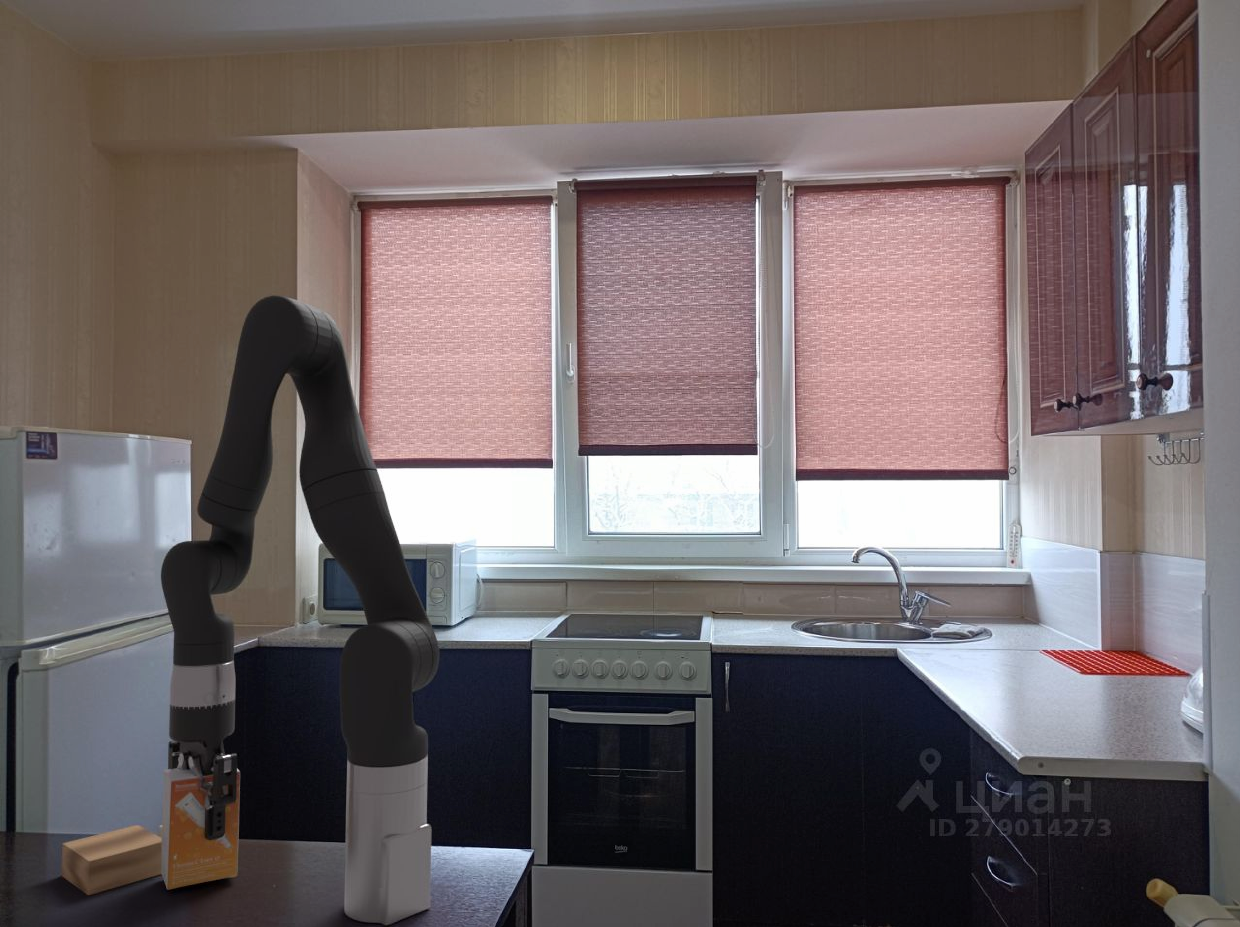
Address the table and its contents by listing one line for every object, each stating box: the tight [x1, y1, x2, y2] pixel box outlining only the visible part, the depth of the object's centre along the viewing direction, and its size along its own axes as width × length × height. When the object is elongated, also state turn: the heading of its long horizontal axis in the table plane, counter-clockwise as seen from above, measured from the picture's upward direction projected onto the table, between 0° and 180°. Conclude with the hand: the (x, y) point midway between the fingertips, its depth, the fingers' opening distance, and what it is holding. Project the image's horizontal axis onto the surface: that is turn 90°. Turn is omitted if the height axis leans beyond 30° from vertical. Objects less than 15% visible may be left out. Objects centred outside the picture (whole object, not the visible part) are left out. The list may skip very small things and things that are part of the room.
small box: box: [160, 767, 241, 890], centre depth 112 cm, size 8×6×13 cm
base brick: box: [60, 824, 162, 896], centre depth 114 cm, size 9×9×4 cm
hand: (200, 831), depth 112 cm, fingers closed on small box, 7 cm apart
